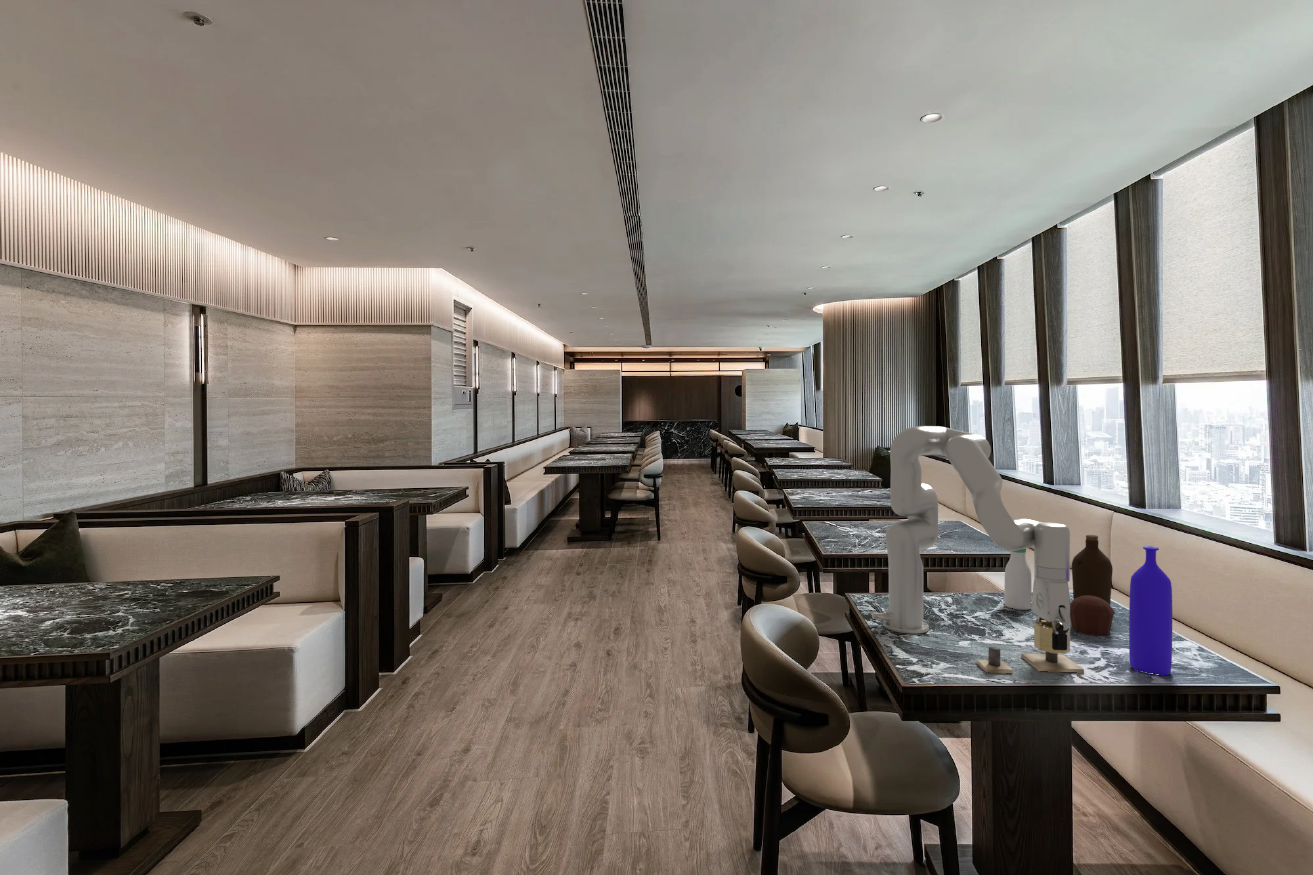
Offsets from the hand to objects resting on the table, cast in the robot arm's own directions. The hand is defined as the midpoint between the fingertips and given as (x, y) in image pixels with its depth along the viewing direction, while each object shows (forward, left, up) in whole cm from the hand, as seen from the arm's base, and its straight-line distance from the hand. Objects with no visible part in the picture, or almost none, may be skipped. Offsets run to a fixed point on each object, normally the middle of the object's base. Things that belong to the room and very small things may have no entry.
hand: (1051, 643), depth 159 cm
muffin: (+24, +29, -6) cm, 38 cm away
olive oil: (+33, +46, -5) cm, 57 cm away
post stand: (0, 0, -5) cm, 5 cm away
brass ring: (0, 0, -1) cm, 1 cm away
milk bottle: (+14, +53, -5) cm, 55 cm away
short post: (-15, -4, -5) cm, 16 cm away
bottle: (+22, -1, -5) cm, 23 cm away
